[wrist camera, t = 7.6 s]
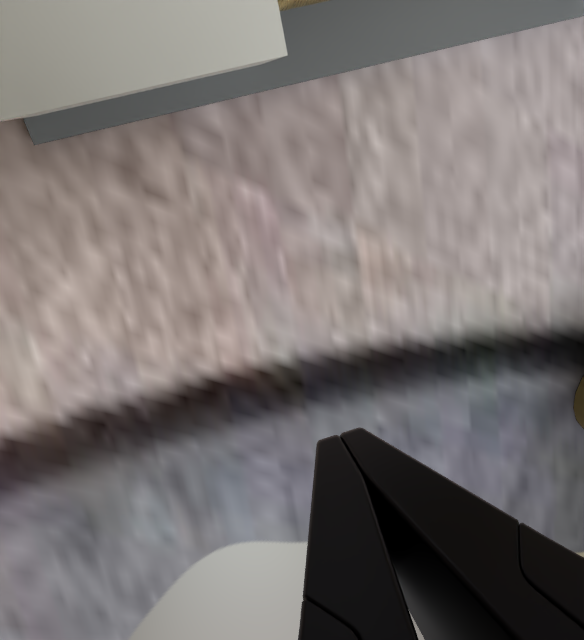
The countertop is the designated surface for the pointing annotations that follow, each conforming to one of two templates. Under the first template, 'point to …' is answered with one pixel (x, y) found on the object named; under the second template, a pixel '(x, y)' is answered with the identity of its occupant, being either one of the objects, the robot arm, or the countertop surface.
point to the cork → (579, 403)
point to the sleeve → (124, 47)
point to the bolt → (296, 3)
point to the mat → (321, 53)
